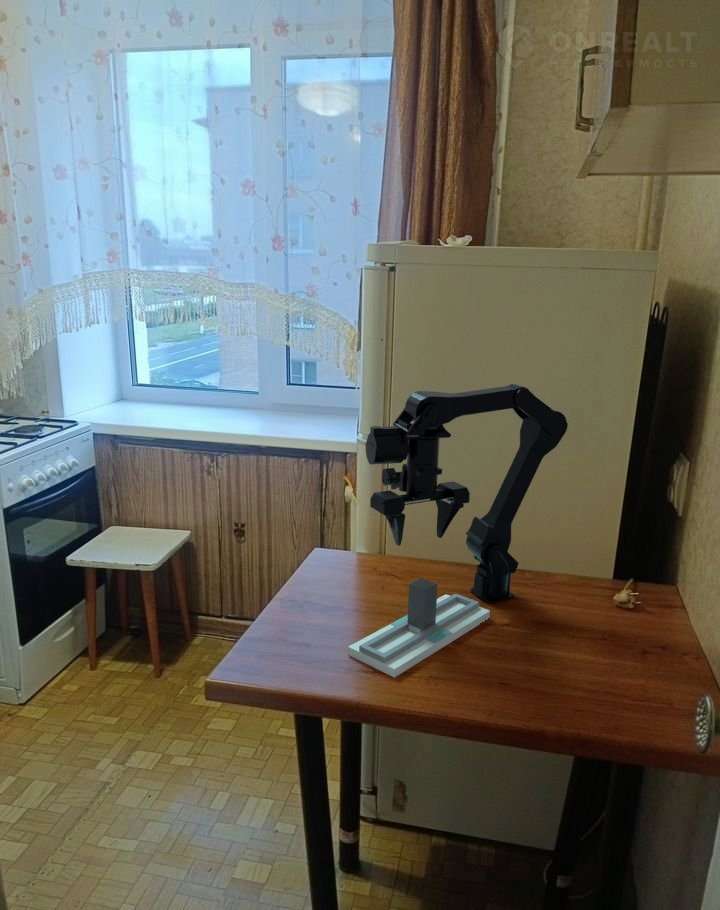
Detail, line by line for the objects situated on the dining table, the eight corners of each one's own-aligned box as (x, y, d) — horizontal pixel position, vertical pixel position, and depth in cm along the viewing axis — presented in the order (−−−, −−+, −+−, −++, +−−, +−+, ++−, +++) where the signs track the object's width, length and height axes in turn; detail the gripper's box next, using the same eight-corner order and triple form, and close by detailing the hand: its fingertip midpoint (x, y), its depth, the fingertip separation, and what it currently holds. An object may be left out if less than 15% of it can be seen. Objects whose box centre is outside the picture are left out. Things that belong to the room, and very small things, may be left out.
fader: (420, 620, 130) (422, 577, 128) (436, 627, 128) (438, 583, 126) (406, 628, 127) (408, 584, 125) (422, 635, 125) (424, 590, 123)
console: (445, 601, 142) (446, 589, 141) (489, 618, 135) (490, 605, 135) (347, 654, 121) (348, 641, 121) (394, 677, 115) (394, 663, 114)
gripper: (440, 446, 144) (436, 520, 148) (357, 456, 136) (355, 534, 139) (474, 459, 135) (469, 538, 139) (387, 471, 126) (384, 554, 130)
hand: (419, 541), depth 137 cm, fingers open, 9 cm apart
